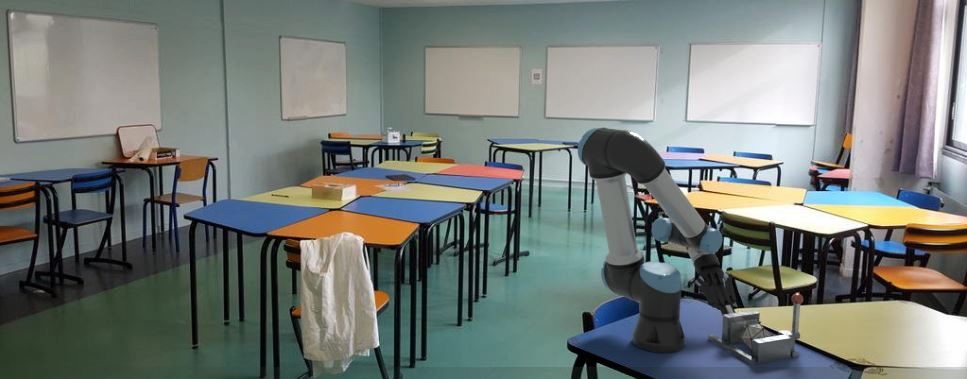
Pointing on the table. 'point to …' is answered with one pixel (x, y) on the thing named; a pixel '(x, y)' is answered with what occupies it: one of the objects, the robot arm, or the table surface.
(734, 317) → the jaw
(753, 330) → the game die
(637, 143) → the robot arm
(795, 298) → the lever
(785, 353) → the vise body
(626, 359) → the table surface
